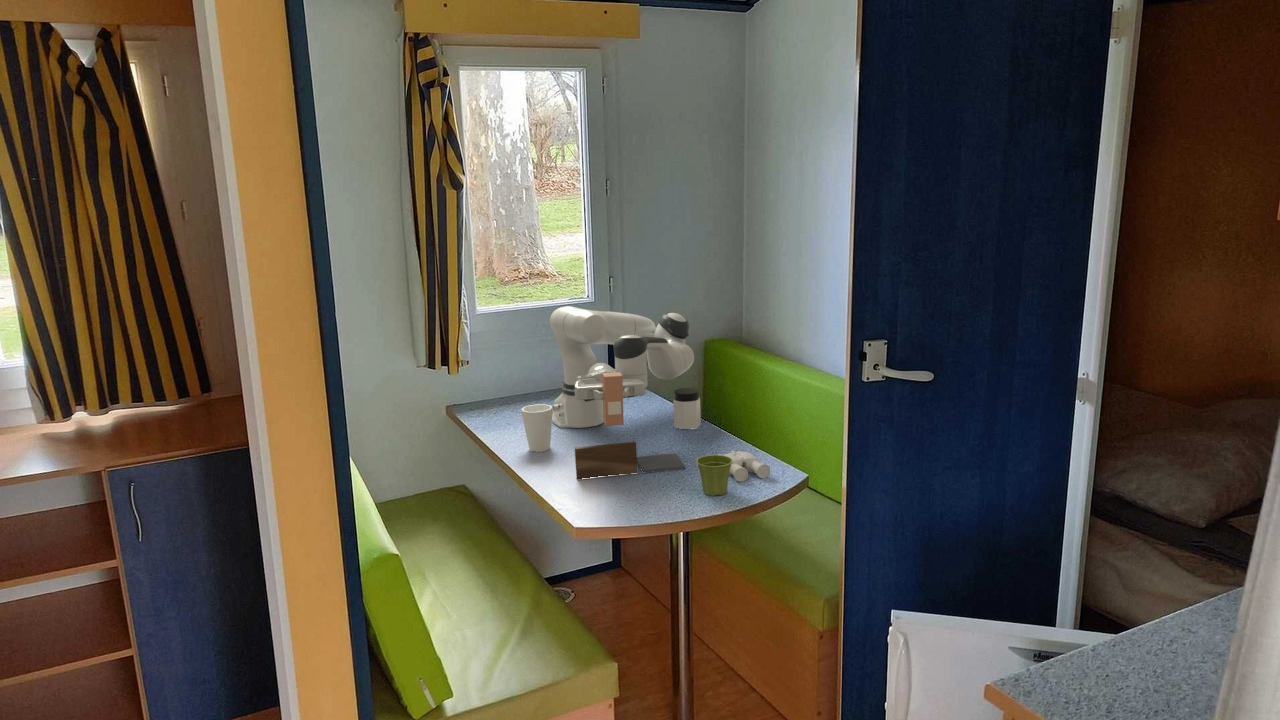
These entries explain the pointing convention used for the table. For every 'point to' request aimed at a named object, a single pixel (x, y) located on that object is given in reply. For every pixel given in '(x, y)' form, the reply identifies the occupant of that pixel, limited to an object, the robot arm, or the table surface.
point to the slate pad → (660, 462)
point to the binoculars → (746, 466)
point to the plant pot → (714, 473)
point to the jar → (686, 408)
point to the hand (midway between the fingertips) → (613, 395)
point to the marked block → (613, 398)
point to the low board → (606, 460)
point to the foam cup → (538, 426)
